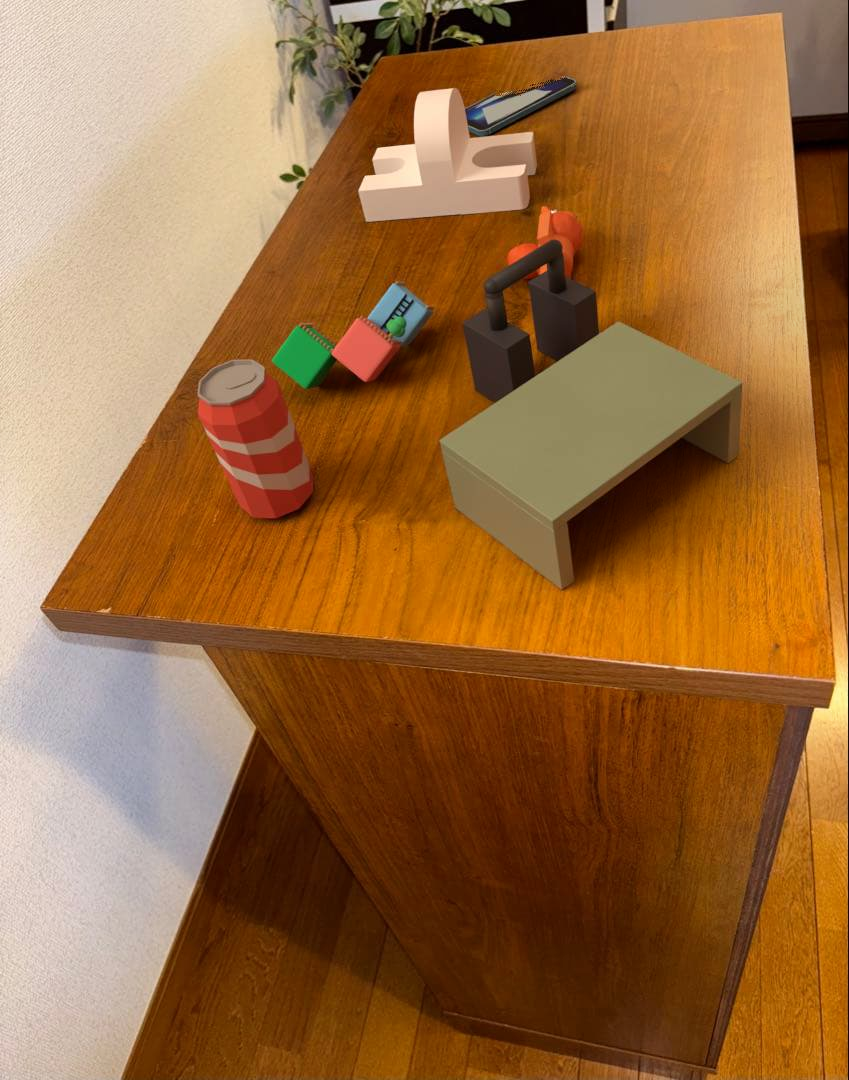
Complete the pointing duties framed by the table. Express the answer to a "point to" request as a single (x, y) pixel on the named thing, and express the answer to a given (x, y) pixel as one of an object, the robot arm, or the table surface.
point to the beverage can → (254, 438)
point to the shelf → (583, 439)
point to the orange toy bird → (550, 228)
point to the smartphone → (513, 106)
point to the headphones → (557, 317)
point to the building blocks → (355, 340)
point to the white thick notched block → (448, 167)
